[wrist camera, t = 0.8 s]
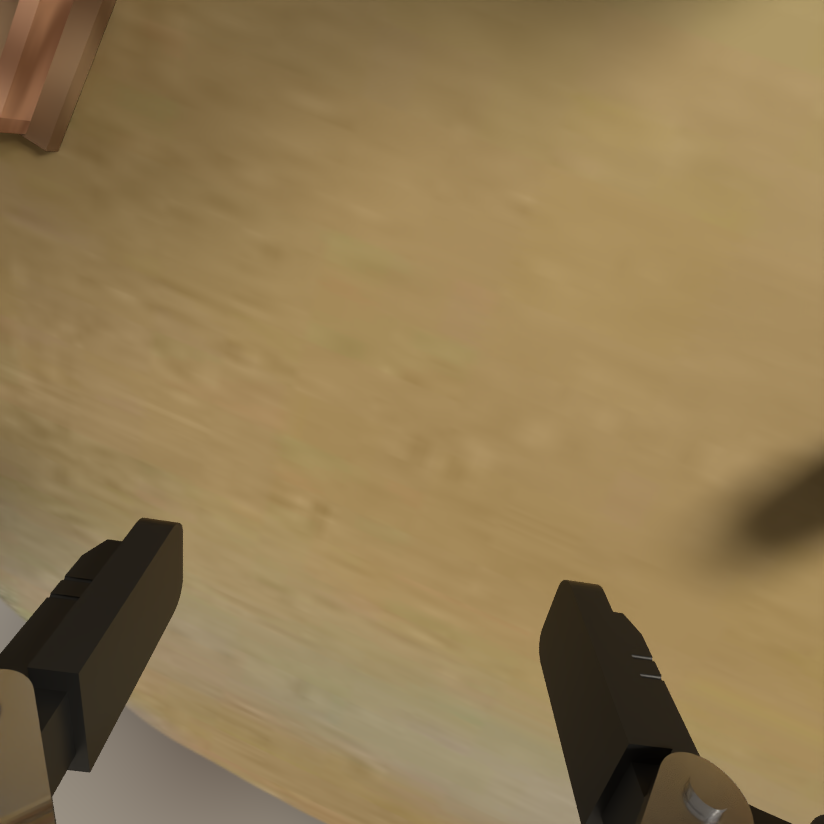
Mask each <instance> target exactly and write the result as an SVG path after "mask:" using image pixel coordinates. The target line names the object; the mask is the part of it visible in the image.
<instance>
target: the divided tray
mask: <svg viewBox="0 0 824 824" xmlns="http://www.w3.org/2000/svg"><path fill="white" fill-rule="evenodd" d="M115 3H116V0H0V132H3V133H16V134H20V135H22V136H23V137H25V138H26V139H28V140H29V141H31V142H32V143H34V144H36V145H37V146H39V147H40V148H42V149H43V150H45V151H58V150H59V148H60V145H61V142H62V140H63V137H64V135H65V132H66V130H67V127H68V124H69V122H70V119H71V117H72V114H73V111H74V109H75V106H76V104H77V101H78V98H79V96H80V93H81V91H82V88H83V85H84V83H85V80H86V78H87V75H88V73H89V70H90V67H91V65H92V62H93V60H94V57H95V54H96V52H97V49H98V47H99V44H100V41H101V39H102V36H103V34H104V31H105V28H106V26H107V23H108V21H109V18H110V15H111V13H112V10H113V8H114V5H115Z"/></svg>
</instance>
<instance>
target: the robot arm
mask: <svg viewBox="0 0 824 824" xmlns="http://www.w3.org/2000/svg"><path fill="white" fill-rule="evenodd" d="M182 582H183V529H182V525H181V524H180V523H176V522H169V521H162V520H155V519H149V518H141V519H140V520H138V521H137V523H136V524H135V525H134V526H133V528H132V529H131V530H130V532H129V533H128V534H127V536H126V537H125V538H124V540H123V541H115V540H108V539H107V540H106V541H104V542H103V543H101V544H99V545H98V546H96V547H95V548H93V549H91V550H90V551H88V552H87V553H85V554H83V555H82V556H81V557H80V558H79V560H78V561H77V562H76V563H75V564H74V566H73V567H72V568H71V569H70V570H69V572H68V573H67V574H66V575H65V579H64V580H61V581H60V583H59V584H58V585H57V586H56V587H55V589H54V590H53V591H52V592H51V595H50V597H49V598H46V599H45V601H44V602H43V603H42V604H41V605H40V607H39V608H38V609H37V610H36V611H35V613H34V614H33V615H32V616H31V617H30V619H29V620H28V621H27V622H26V623H25V625H24V626H23V627H22V628H21V629H20V631H19V632H18V633H17V634H16V636H15V637H14V638H13V639H12V640H11V641H10V643H9V644H8V645H7V646H6V648H5V649H4V650H3V651H2V652H1V654H0V824H56V819H55V813H54V807H53V800H52V796H53V794H54V792H55V791H56V789H57V787H58V785H59V784H60V782H61V780H62V778H63V776H64V775H65V773H66V771H67V770H74V771H82V772H90V771H91V770H92V767H93V766H94V763H95V762H96V760H97V758H98V756H99V754H100V752H101V750H102V749H103V747H104V745H105V743H106V741H107V739H108V737H109V735H110V733H111V731H112V729H113V727H114V726H115V724H116V722H117V720H118V718H119V716H120V714H121V712H122V710H123V709H124V707H125V705H126V703H127V701H128V699H129V697H130V695H131V693H132V691H133V690H134V688H135V686H136V684H137V682H138V680H139V678H140V676H141V674H142V672H143V671H144V669H145V667H146V665H147V663H148V661H149V659H150V657H151V655H152V653H153V651H154V650H155V648H156V646H157V644H158V642H159V640H160V638H161V636H162V634H163V632H164V631H165V629H166V627H167V625H168V623H169V621H170V619H171V617H172V615H173V613H174V611H175V609H176V607H177V604H178V601H179V598H180V594H181V589H182ZM539 655H540V662H541V666H542V670H543V674H544V678H545V682H546V686H547V690H548V694H549V698H550V702H551V706H552V710H553V714H554V718H555V722H556V726H557V730H558V734H559V738H560V742H561V746H562V750H563V754H564V758H565V762H566V766H567V769H568V773H569V777H570V781H571V785H572V789H573V793H574V797H575V801H576V805H577V809H578V813H579V817H580V821H581V824H791V823H789V822H787V821H785V820H782V819H780V818H778V817H775V816H773V815H771V814H769V813H766V812H764V811H762V810H759V809H757V808H755V807H753V806H751V805H749V804H748V802H747V800H746V798H745V797H744V795H743V794H742V792H741V791H740V789H739V788H738V787H737V785H736V784H735V783H734V782H733V781H732V780H731V779H730V777H729V776H728V775H727V774H725V773H724V772H723V771H722V770H721V769H720V768H718V767H717V766H716V765H714V764H713V763H711V762H710V761H708V760H706V759H704V758H702V757H700V755H699V753H698V751H697V749H696V747H695V745H694V743H693V741H692V739H691V737H690V735H689V733H688V730H687V728H686V726H685V724H684V722H683V720H682V718H681V716H680V714H679V712H678V710H677V707H676V705H675V703H674V701H673V699H672V697H671V695H670V693H669V691H668V689H667V687H666V684H665V682H664V681H662V680H661V674H660V672H659V670H658V668H657V666H656V663H655V662H654V661H652V655H651V653H650V651H649V649H648V647H647V645H646V643H645V640H644V638H643V636H642V634H641V633H640V632H639V631H638V630H637V629H636V628H635V626H634V625H633V624H632V623H631V622H630V621H629V620H628V619H627V618H626V616H625V615H624V614H623V613H617V612H613V611H612V609H611V606H610V604H609V602H608V600H607V597H606V595H605V593H604V591H603V589H602V587H601V586H599V585H597V584H590V583H583V582H576V581H569V580H563V581H562V582H561V583H560V585H559V587H558V589H557V592H556V595H555V597H554V600H553V602H552V605H551V608H550V610H549V613H548V615H547V618H546V620H545V623H544V626H543V628H542V631H541V635H540V643H539ZM810 824H824V815H820V816H818V817H816V818H815V819H814V820H813V821H812V822H811V823H810Z"/></svg>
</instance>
